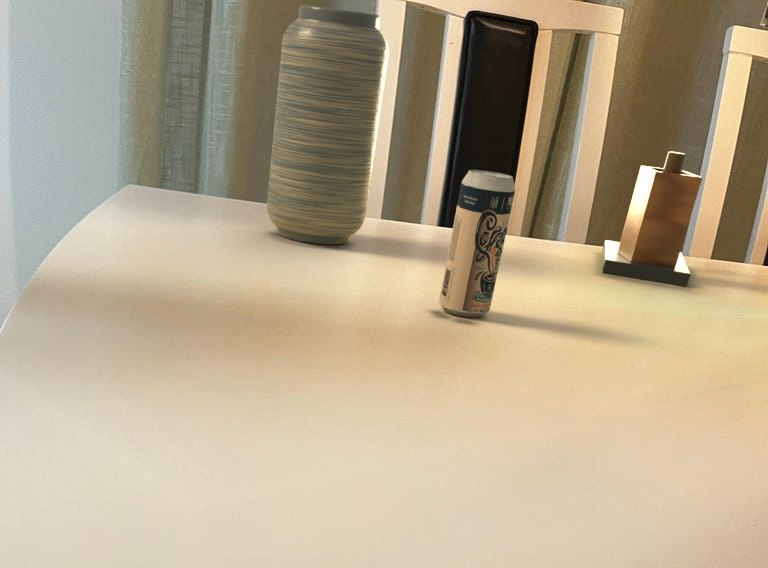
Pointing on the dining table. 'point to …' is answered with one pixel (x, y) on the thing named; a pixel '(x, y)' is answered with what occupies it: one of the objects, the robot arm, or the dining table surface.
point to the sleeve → (658, 216)
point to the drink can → (477, 242)
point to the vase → (326, 124)
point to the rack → (657, 273)
